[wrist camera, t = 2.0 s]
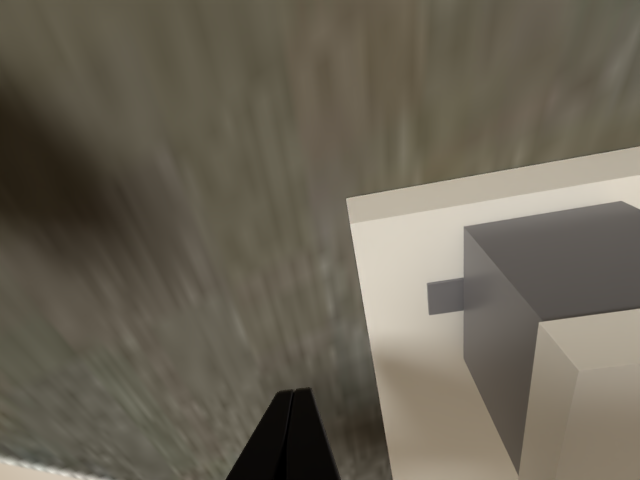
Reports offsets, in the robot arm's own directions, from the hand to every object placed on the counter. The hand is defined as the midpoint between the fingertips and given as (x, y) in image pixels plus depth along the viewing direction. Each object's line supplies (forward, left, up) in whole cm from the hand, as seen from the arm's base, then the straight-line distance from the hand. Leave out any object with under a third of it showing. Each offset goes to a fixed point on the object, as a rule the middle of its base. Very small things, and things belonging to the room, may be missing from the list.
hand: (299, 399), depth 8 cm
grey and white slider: (-7, 0, -3) cm, 7 cm away
